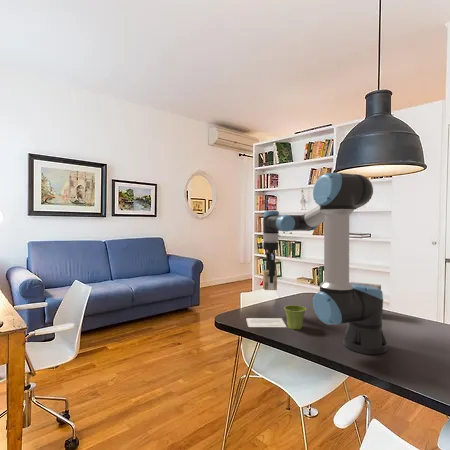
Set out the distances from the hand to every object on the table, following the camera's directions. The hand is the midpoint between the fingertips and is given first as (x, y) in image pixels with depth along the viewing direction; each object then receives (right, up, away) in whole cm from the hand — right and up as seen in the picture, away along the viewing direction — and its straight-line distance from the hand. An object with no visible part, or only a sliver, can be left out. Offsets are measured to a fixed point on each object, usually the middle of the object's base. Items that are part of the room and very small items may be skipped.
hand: (269, 287), depth 163 cm
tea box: (+48, -14, +3) cm, 50 cm away
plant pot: (+8, -14, -20) cm, 25 cm away
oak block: (0, 0, 0) cm, 1 cm away
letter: (-4, -13, -14) cm, 20 cm away
